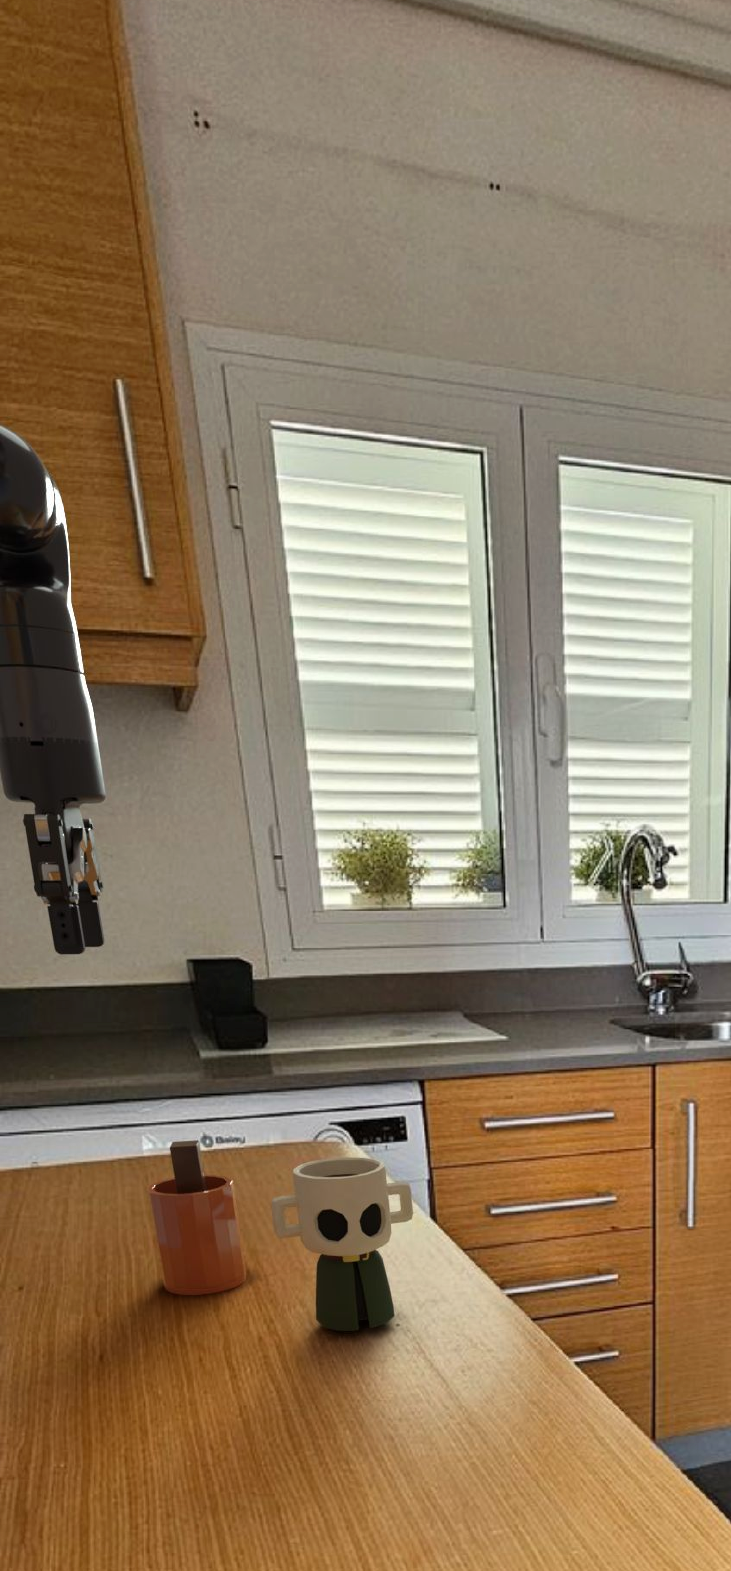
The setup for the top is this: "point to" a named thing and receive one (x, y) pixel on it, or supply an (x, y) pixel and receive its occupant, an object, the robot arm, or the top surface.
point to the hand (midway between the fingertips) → (81, 950)
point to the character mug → (345, 1235)
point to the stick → (188, 1167)
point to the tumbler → (197, 1236)
